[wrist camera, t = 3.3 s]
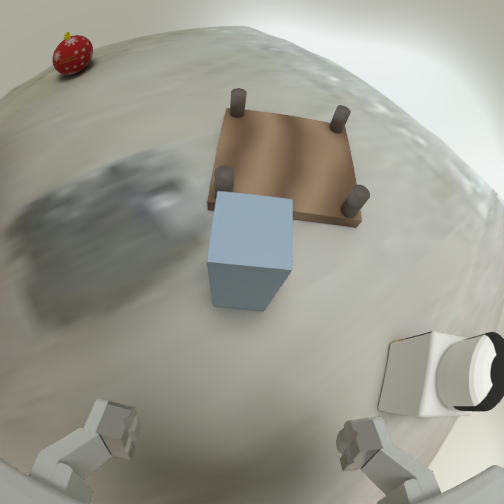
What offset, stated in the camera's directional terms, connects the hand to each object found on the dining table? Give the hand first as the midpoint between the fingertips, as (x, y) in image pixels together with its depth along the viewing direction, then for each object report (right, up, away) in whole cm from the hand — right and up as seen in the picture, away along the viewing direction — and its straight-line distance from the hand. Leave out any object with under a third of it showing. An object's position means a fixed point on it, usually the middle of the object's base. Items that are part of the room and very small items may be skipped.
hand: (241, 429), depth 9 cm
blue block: (-1, +4, +17) cm, 17 cm away
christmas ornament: (-35, +43, +30) cm, 63 cm away
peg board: (+4, +17, +23) cm, 29 cm away
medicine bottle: (+17, -7, +14) cm, 23 cm away
